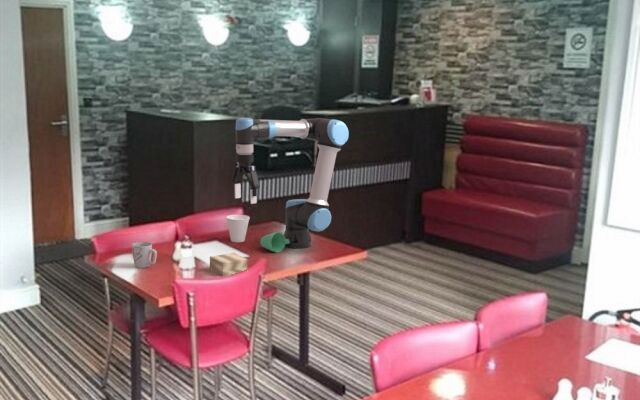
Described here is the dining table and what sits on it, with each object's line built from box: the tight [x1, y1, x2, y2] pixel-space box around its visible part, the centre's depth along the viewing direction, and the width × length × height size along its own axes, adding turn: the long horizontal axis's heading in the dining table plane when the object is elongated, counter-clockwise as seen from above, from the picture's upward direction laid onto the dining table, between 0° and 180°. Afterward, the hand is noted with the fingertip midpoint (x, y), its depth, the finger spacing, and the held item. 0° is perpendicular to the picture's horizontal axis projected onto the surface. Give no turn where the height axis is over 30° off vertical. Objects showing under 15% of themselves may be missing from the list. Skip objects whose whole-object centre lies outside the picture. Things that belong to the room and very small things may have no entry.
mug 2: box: [259, 231, 290, 254], centre depth 335 cm, size 15×10×10 cm
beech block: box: [209, 252, 249, 277], centre depth 298 cm, size 12×12×6 cm
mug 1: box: [131, 241, 158, 269], centre depth 300 cm, size 11×8×10 cm
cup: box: [225, 214, 250, 243], centre depth 348 cm, size 12×12×12 cm
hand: (245, 200), depth 306 cm, fingers open, 13 cm apart
